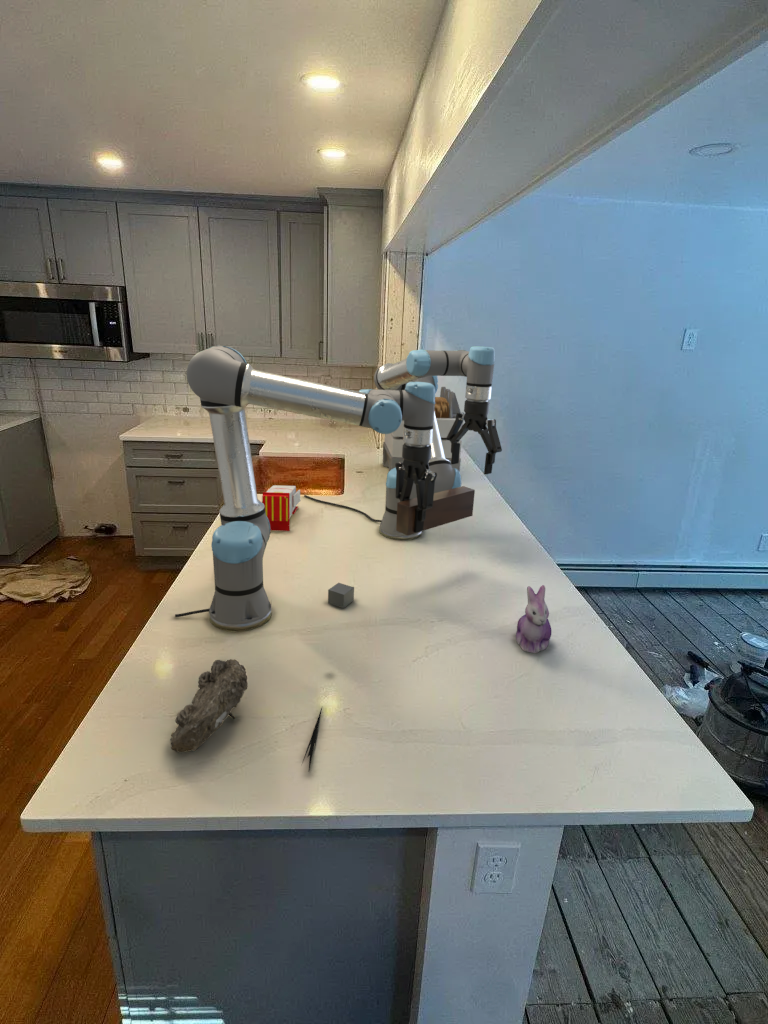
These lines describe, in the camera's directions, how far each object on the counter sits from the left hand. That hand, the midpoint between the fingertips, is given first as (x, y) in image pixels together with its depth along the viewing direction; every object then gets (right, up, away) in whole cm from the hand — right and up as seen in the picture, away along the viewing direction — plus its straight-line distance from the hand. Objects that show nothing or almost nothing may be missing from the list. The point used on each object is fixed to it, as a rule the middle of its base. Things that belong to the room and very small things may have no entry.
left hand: (411, 528), depth 154 cm
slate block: (-19, -20, -1) cm, 28 cm away
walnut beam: (+7, +1, +6) cm, 9 cm away
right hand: (+20, +18, +24) cm, 36 cm away
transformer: (+9, +23, +121) cm, 124 cm away
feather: (-20, -36, -45) cm, 60 cm away
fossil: (-40, -35, -45) cm, 70 cm away
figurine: (+28, -28, -17) cm, 43 cm away
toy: (-46, +2, +56) cm, 73 cm away
